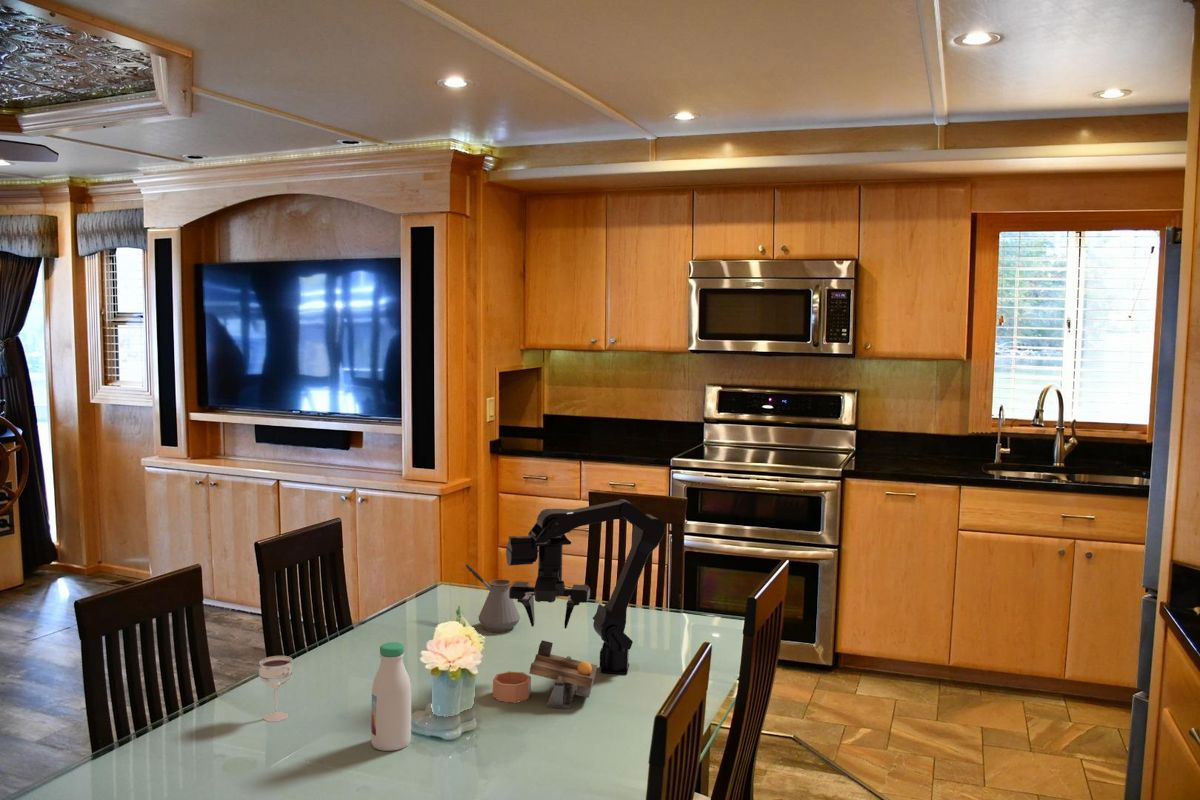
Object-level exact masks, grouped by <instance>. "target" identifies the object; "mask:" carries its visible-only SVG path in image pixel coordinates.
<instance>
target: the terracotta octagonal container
mask: <svg viewBox="0 0 1200 800" xmlns="http://www.w3.org/2000/svg"><path fill="white" fill-rule="evenodd" d="M531 689H532V676H530V675H529V674H527V673H525V672H522V671H504V672H501V673H497V674H496V675H495V676H494V678H493V679H492V698H494V697H495V698H496V699H495V698H494V699H495V700H497V699H498V700H500V701H505V702H504V703H508V702H517V703H519V702H518V701H521V702H524V701H528V700H529V698H530V696H531V694H532V691H531ZM530 693H531V694H530ZM527 699H528V700H527ZM498 700H497V701H498ZM523 700H524V701H523ZM500 701H499V702H500Z"/></svg>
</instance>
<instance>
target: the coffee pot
mask: <svg viewBox="0 0 1200 800" xmlns="http://www.w3.org/2000/svg"><path fill="white" fill-rule="evenodd" d="M465 567H466V569H464V568H465ZM462 569H463V571H465V572H466V571H469V572H471V574H472V575H473V576H474V577H475V578H476V579H477V580H478V581H479V582H481V583H482V584H483V585H484V586H485V587H486V588H487V589H488V590H489V593H488V595H487V597H486V599H485V602H484V604H483V606H482V607H481V610H480V612H479V615H478V622H479V623H480V624H481V626H482V627H484V629H485V630H487V631H489V632H495V633H499V632H500V633H503V632H508V631H511V630H513V628H514V627H516V626H517V624H518V623H519V621H520V619H521V618H520V617H521V616H520V612H519V611H518V609H517V606H516V604H515V603H516V602H515V600H514V599H510V598H509V590H510V587H511V586H512V581H511V580H510V579H503V578H502V579H501V578H500V579H492V580H489V581H488V583H487V582H486V581H485V579H484V578H483V577H482V575H480V574H479V572H478V571H475V569H473V567H471V566H470V565H469V564H465V565H464V566H463V568H462Z"/></svg>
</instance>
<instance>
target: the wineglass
mask: <svg viewBox="0 0 1200 800" xmlns="http://www.w3.org/2000/svg"><path fill="white" fill-rule="evenodd" d="M292 663H293V658H292V657H291V656H287V655H273V656H268V657H264V658H263V659H261V660H260V661H259V663H258V664H259V666H260V667H259V669H258V676H259V679H260V680H261V681H262V682H263V684H265V685H267V686H271V687H272V689H273V694H274V695H273V697H274V712H270V713H267V714H265V715H264V716H263V720H264V721H266V722H270V723H271V722H280V721H281V722H282V721H284V720H286V719H287V718H288V717H289V714H288V713H287V712H283V711H278V696H279V693H278V692H279V688H280V687H281V686H282V685H284V684H285V683H287V681H289V680H290V679H291V677H292V675H293V671H294V668H293V664H292Z"/></svg>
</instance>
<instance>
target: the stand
mask: <svg viewBox="0 0 1200 800" xmlns="http://www.w3.org/2000/svg"><path fill="white" fill-rule="evenodd" d="M576 689H577V685H575V684H571V683H566V682H561V683H557V681H556V682H555V683H554V685H553V689H552V692H551V694H550V696H549V699H548V701H547V703H546V708H548V709H549V708H550V709H564V710H570V708H571V706H572V703H573V701H574V697H575V694H576Z"/></svg>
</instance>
